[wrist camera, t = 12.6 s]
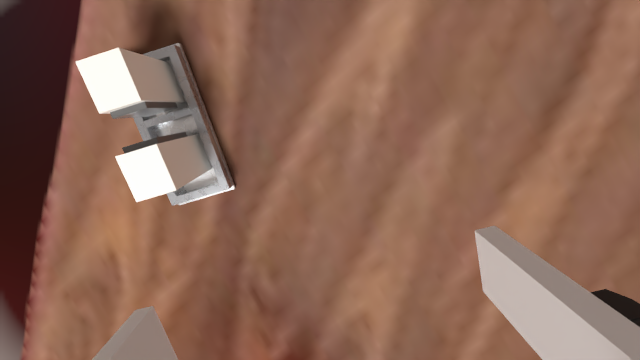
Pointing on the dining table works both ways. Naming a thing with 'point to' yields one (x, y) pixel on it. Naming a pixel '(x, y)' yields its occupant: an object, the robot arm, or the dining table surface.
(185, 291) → the dining table surface
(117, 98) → the block
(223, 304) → the dining table surface
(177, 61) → the rail
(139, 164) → the block
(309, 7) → the dining table surface
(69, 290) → the dining table surface
